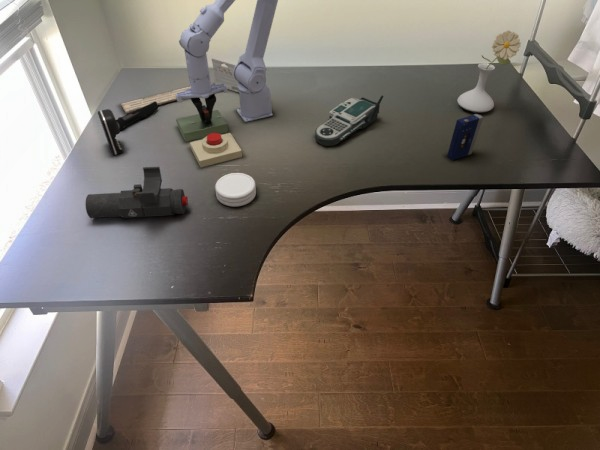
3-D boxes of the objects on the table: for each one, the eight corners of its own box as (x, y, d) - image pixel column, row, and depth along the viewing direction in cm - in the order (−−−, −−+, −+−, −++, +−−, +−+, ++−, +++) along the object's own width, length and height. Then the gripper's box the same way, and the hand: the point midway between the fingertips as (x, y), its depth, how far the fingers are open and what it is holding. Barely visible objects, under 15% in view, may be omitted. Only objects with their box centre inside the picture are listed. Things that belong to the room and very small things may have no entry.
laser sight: (99, 202, 110) (86, 170, 104) (191, 197, 112) (183, 165, 105) (89, 229, 103) (74, 196, 97) (187, 224, 105) (179, 191, 98)
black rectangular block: (201, 116, 135) (199, 105, 132) (206, 115, 135) (204, 104, 133) (206, 124, 132) (204, 113, 129) (211, 123, 132) (209, 111, 129)
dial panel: (218, 118, 140) (217, 109, 138) (228, 132, 134) (227, 123, 132) (178, 127, 136) (176, 118, 134) (185, 142, 130) (183, 133, 128)
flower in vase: (453, 111, 143) (475, 32, 126) (458, 96, 151) (479, 19, 134) (496, 120, 140) (524, 39, 123) (498, 103, 148) (525, 25, 130)
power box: (230, 139, 131) (229, 127, 129) (242, 157, 125) (241, 144, 122) (190, 148, 128) (188, 136, 125) (200, 167, 121) (198, 155, 118)
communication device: (302, 137, 132) (302, 111, 126) (352, 107, 145) (354, 82, 139) (333, 153, 127) (335, 126, 120) (382, 120, 139) (386, 94, 133)
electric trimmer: (161, 111, 143) (159, 102, 141) (121, 131, 134) (118, 122, 132) (154, 108, 145) (152, 99, 143) (113, 127, 136) (110, 118, 134)
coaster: (240, 212, 108) (238, 201, 105) (208, 198, 112) (206, 187, 109) (263, 190, 114) (263, 179, 112) (233, 178, 118) (231, 167, 115)
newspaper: (127, 114, 141) (125, 109, 140) (120, 105, 146) (119, 100, 144) (196, 96, 150) (196, 91, 149) (189, 88, 155) (188, 83, 153)
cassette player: (452, 160, 124) (463, 122, 116) (446, 156, 125) (456, 118, 117) (472, 153, 126) (484, 116, 118) (466, 149, 128) (477, 112, 120)
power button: (219, 136, 126) (218, 131, 125) (223, 144, 123) (223, 138, 122) (205, 140, 124) (204, 134, 123) (209, 147, 122) (209, 142, 121)
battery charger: (127, 152, 126) (115, 117, 118) (113, 156, 125) (100, 120, 117) (121, 140, 130) (110, 105, 123) (108, 144, 129) (96, 108, 121)
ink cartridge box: (219, 82, 158) (215, 55, 151) (244, 90, 153) (241, 63, 147) (214, 85, 156) (211, 58, 149) (239, 93, 152) (237, 65, 145)
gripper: (176, 86, 119) (185, 130, 128) (228, 76, 123) (233, 119, 133) (170, 75, 123) (179, 118, 133) (220, 66, 128) (225, 108, 137)
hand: (206, 118), depth 133 cm, fingers closed on black rectangular block, 2 cm apart
